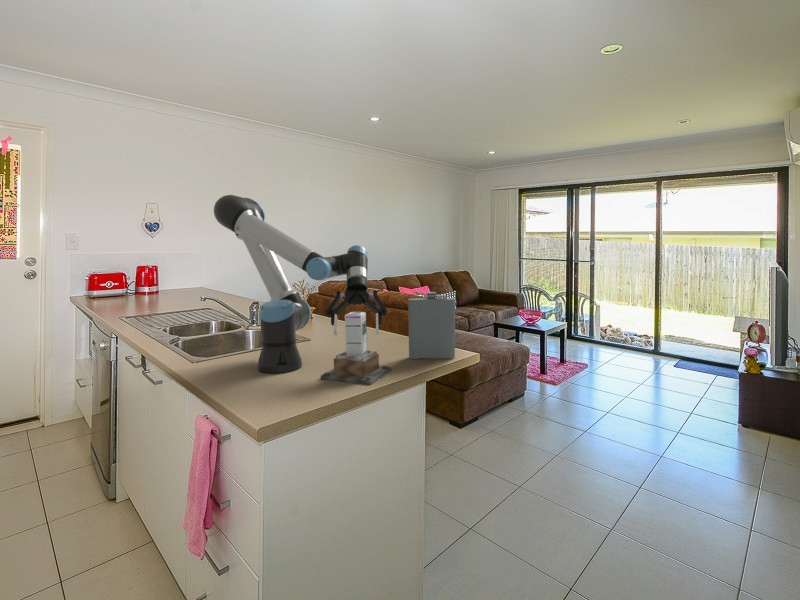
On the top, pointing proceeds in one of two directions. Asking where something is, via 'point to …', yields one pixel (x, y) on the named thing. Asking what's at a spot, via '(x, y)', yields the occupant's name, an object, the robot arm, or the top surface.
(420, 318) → the tall gray carton
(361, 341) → the syrup box
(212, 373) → the top surface
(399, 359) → the top surface
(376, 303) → the robot arm
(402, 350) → the top surface
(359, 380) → the assembly base
